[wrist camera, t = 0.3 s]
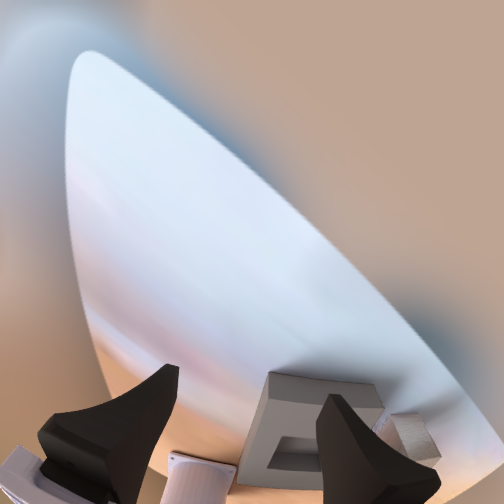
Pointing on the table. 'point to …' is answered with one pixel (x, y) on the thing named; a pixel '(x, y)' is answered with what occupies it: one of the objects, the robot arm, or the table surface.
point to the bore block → (296, 430)
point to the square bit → (410, 438)
